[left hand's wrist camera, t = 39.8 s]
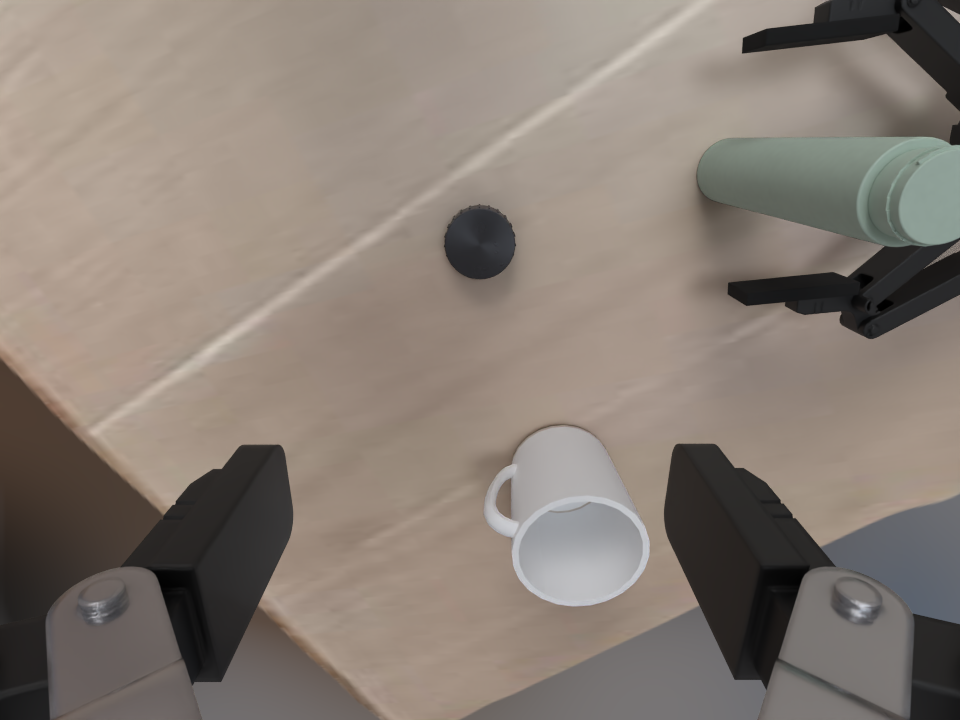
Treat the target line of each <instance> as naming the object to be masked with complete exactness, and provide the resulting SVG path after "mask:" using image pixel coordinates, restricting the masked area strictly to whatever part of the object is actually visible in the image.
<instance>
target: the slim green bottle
mask: <svg viewBox="0 0 960 720" xmlns="http://www.w3.org/2000/svg"><path fill="white" fill-rule="evenodd" d="M697 181H698V185H699V187H700V189H701V191H702V192H703V194H704V195H705V196H706V197H708V198H709V199H711V200H713V201H716V202H720V203H723V204H727V205H731V206H735V207H739V208H742V209H746V210H750V211H754V212H758V213H761V214H765V215H769V216H773V217H777V218H781V219H784V220H788V221H792V222H796V223H800V224H803V225H807V226H811V227H815V228H819V229H822V230H826V231H830V232H834V233H838V234H841V235H845V236H849V237H853V238H857V239H861V240H864V241H868V242H872V243H876V244H880V245H883V246H889V247H904V246H908V245H916V246H925V247H926V246H932V245H940V244H945V243H948V242H951V241H954V240H956V239H958V238H960V145H953V146H952V145H950V144H949V143H947V142H946V141H944V140H941V139H938V138H933V137H809V138H728V139H724V140H721V141H719V142H717V143H715V144H714V145H712V146H711V147H710V148H709V149H708V150H707V151H706V152H705V153H704V155H703V156H702V158H701V160H700V163H699V166H698V170H697Z"/></svg>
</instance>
